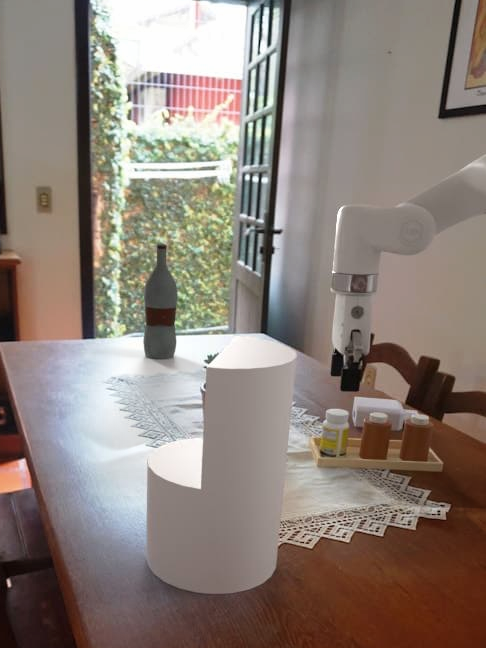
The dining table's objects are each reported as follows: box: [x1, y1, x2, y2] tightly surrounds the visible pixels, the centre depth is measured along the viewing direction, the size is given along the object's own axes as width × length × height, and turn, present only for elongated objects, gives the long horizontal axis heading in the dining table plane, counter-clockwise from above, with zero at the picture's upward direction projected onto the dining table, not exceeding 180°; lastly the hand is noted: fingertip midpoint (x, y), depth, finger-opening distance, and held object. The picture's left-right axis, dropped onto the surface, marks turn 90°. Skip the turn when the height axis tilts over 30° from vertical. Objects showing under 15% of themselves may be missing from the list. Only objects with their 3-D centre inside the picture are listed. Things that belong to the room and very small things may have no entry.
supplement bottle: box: [320, 408, 350, 458], centre depth 124 cm, size 5×5×8 cm
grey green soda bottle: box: [143, 243, 179, 360], centre depth 187 cm, size 9×9×30 cm
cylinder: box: [145, 334, 298, 595], centre depth 85 cm, size 17×17×28 cm
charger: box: [351, 396, 419, 432], centre depth 144 cm, size 5×9×15 cm
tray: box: [308, 436, 444, 472], centre depth 126 cm, size 22×11×2 cm, turn 90°
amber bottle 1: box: [359, 412, 392, 460], centre depth 124 cm, size 5×5×8 cm
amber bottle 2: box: [399, 413, 435, 462], centre depth 124 cm, size 5×5×8 cm
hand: (343, 383), depth 120 cm, fingers open, 9 cm apart
